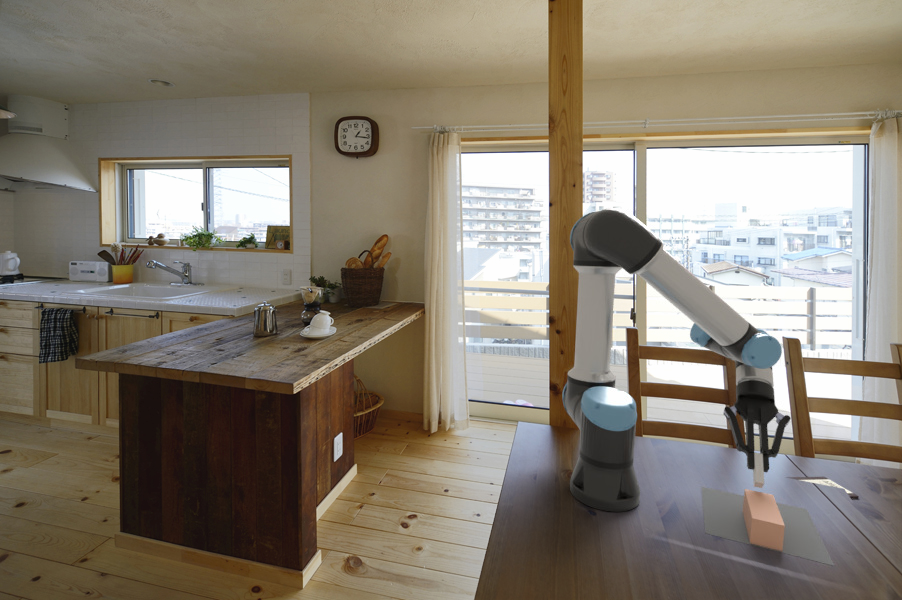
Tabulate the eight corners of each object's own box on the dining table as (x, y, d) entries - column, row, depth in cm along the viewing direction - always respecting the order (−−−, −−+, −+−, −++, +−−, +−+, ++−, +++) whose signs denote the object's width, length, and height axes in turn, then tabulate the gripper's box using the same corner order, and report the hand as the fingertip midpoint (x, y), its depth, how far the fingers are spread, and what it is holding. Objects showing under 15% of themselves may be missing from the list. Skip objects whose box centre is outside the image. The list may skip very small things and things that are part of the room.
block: (742, 511, 97) (750, 543, 87) (744, 488, 97) (752, 518, 86) (770, 517, 95) (782, 551, 84) (773, 494, 95) (784, 525, 84)
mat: (704, 535, 90) (705, 532, 90) (701, 488, 107) (701, 486, 107) (834, 568, 81) (834, 565, 81) (806, 511, 98) (806, 509, 98)
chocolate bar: (754, 478, 112) (824, 476, 113) (754, 481, 112) (823, 480, 113) (783, 497, 103) (858, 496, 104) (783, 501, 103) (858, 500, 104)
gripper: (784, 398, 109) (793, 498, 96) (721, 390, 115) (721, 483, 102) (791, 382, 103) (801, 486, 90) (724, 375, 109) (724, 471, 96)
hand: (758, 484), depth 96 cm, fingers closed
